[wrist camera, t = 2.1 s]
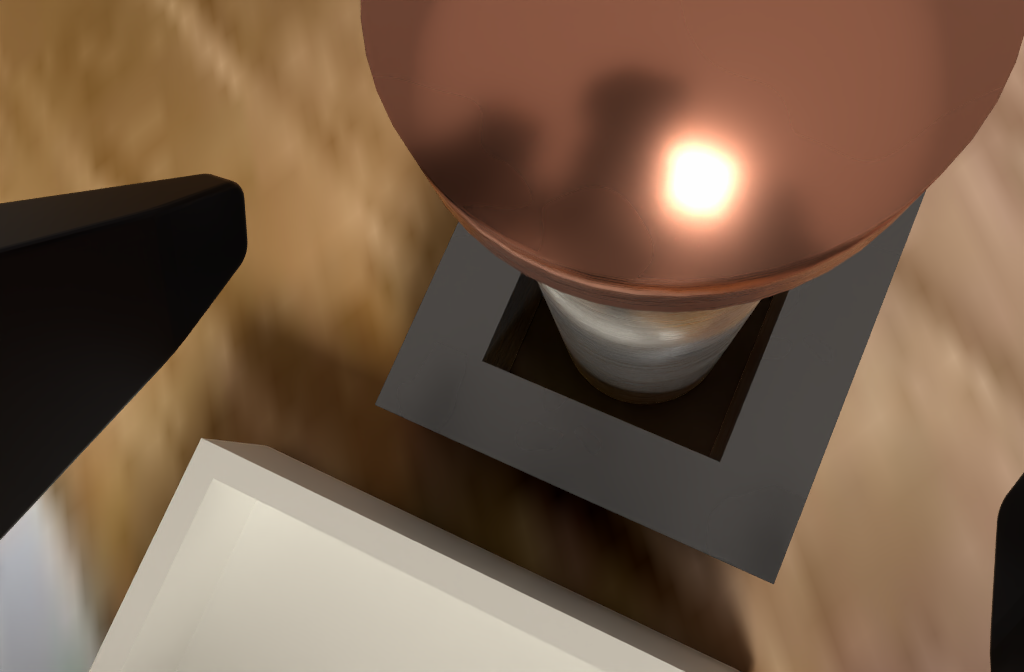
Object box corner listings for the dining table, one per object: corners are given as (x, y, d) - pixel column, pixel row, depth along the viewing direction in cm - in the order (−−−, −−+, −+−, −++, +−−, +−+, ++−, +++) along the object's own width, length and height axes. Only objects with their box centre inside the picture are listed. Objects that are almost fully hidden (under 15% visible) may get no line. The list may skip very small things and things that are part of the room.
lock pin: (702, 460, 18) (892, 390, 5) (510, 378, 19) (256, 144, 6) (778, 270, 18) (1128, -235, 5) (589, 200, 19) (512, -370, 6)
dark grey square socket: (748, 567, 17) (774, 583, 14) (414, 417, 19) (374, 404, 16) (881, 228, 18) (930, 178, 15) (551, 113, 20) (538, 47, 17)
